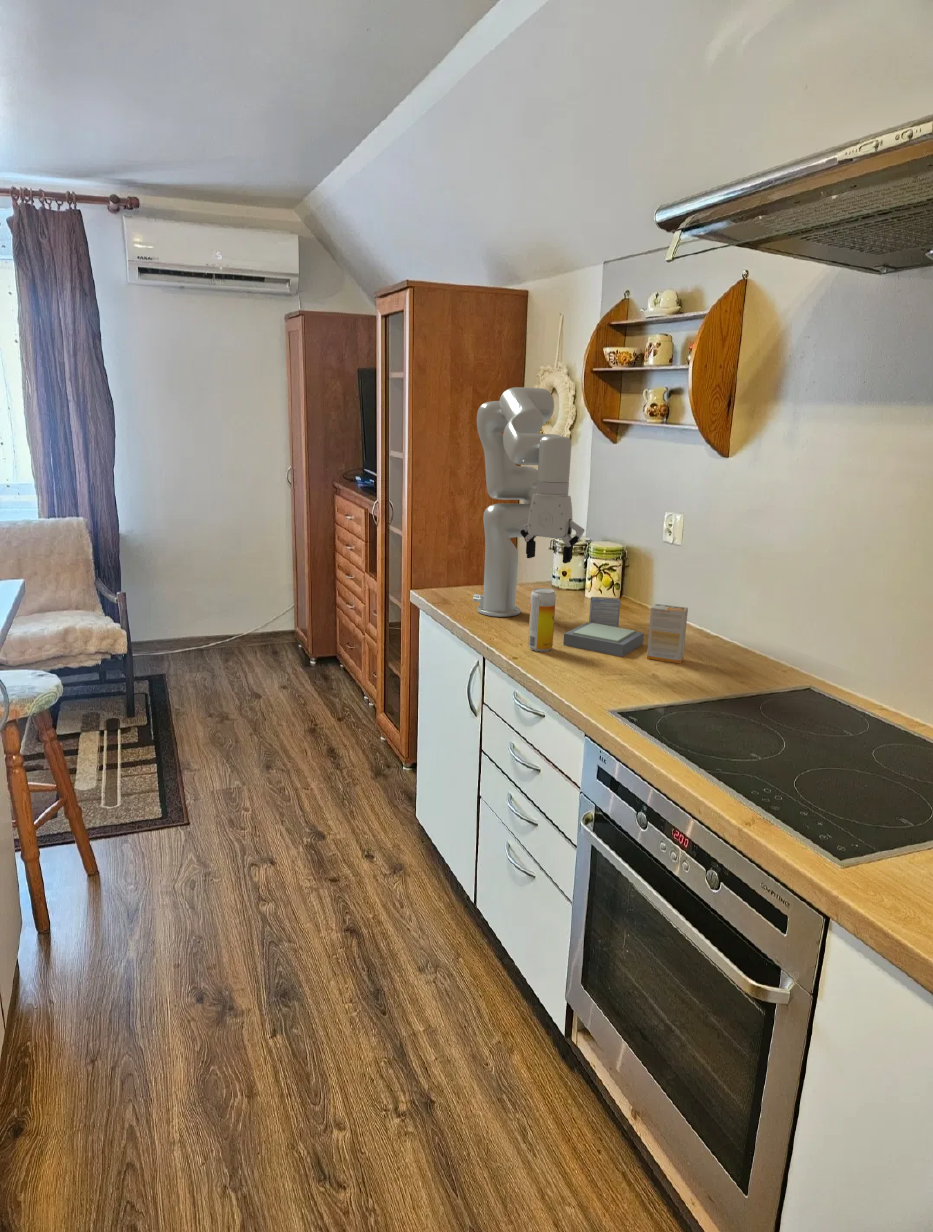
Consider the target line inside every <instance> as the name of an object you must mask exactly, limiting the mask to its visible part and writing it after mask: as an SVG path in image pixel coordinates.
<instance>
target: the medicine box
mask: <svg viewBox="0 0 933 1232" xmlns="http://www.w3.org/2000/svg"><path fill="white" fill-rule="evenodd" d="M621 605H622V602H621V600H620V598H619V597H606V596H605V597H604V596H591V597H590V603H589V619H588V623H596V624H602V625H607V626H613V627H618V628H620V627H619V626H620V625H619V624H620V614H621Z"/></svg>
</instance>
